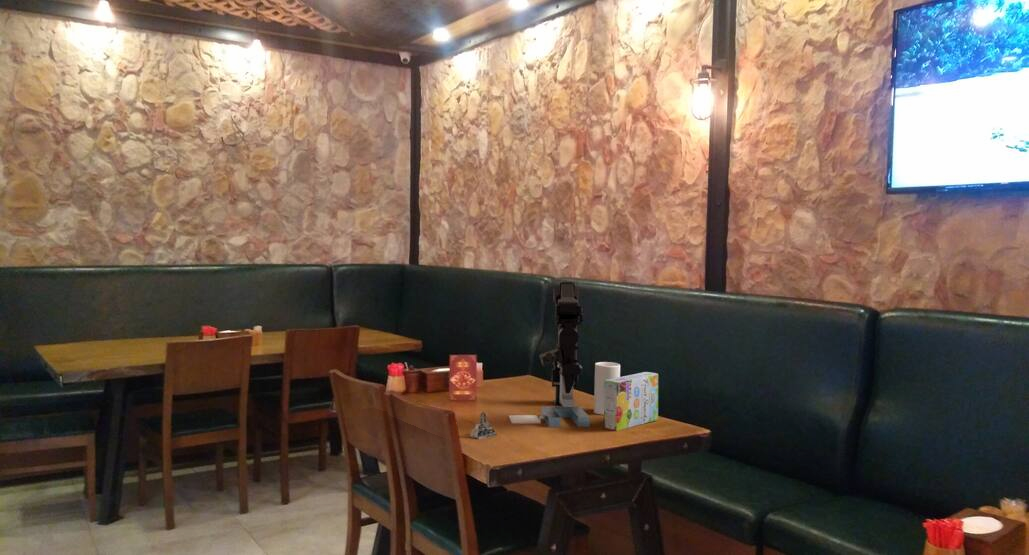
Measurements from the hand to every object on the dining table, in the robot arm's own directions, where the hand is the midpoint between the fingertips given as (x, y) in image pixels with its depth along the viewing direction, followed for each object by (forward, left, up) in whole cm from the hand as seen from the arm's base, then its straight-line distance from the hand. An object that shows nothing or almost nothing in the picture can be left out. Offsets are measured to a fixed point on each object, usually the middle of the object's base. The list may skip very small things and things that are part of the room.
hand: (566, 391), depth 246 cm
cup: (-13, +16, -10) cm, 23 cm away
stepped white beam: (0, 0, -4) cm, 4 cm away
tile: (-3, -13, -10) cm, 16 cm away
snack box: (+3, +20, -10) cm, 23 cm away
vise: (0, 0, -10) cm, 10 cm away
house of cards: (+13, -28, -10) cm, 32 cm away
